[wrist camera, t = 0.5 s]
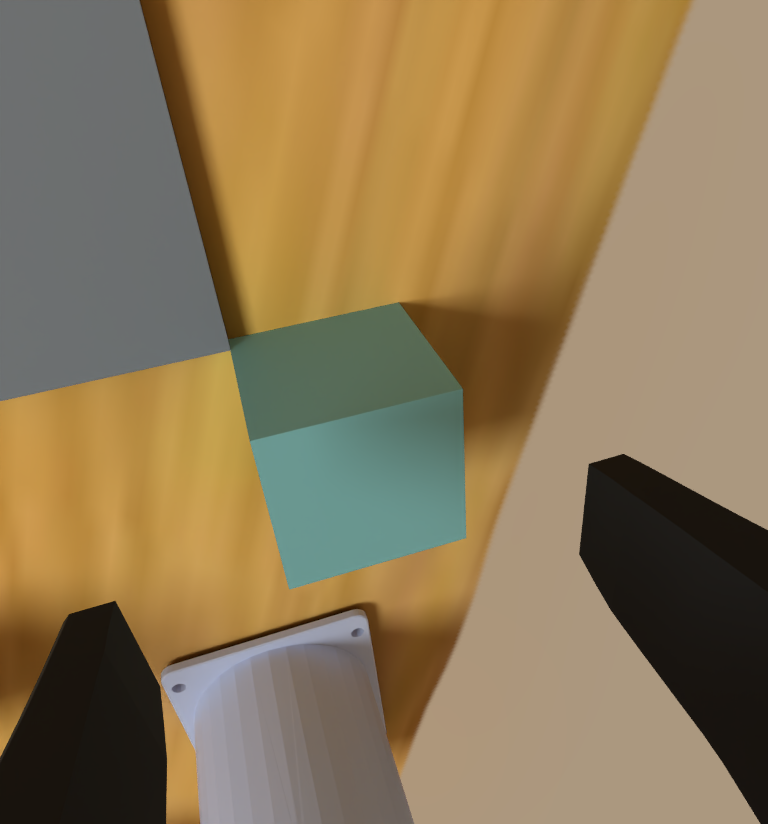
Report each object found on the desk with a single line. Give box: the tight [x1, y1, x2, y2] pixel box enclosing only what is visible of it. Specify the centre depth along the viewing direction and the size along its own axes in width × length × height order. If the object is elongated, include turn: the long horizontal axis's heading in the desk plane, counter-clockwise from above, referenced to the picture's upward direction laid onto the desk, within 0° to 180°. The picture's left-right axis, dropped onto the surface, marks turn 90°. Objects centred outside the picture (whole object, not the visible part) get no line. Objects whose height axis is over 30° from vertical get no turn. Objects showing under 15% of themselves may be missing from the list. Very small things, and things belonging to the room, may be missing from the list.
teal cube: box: [228, 302, 466, 589], centre depth 18 cm, size 5×5×5 cm
